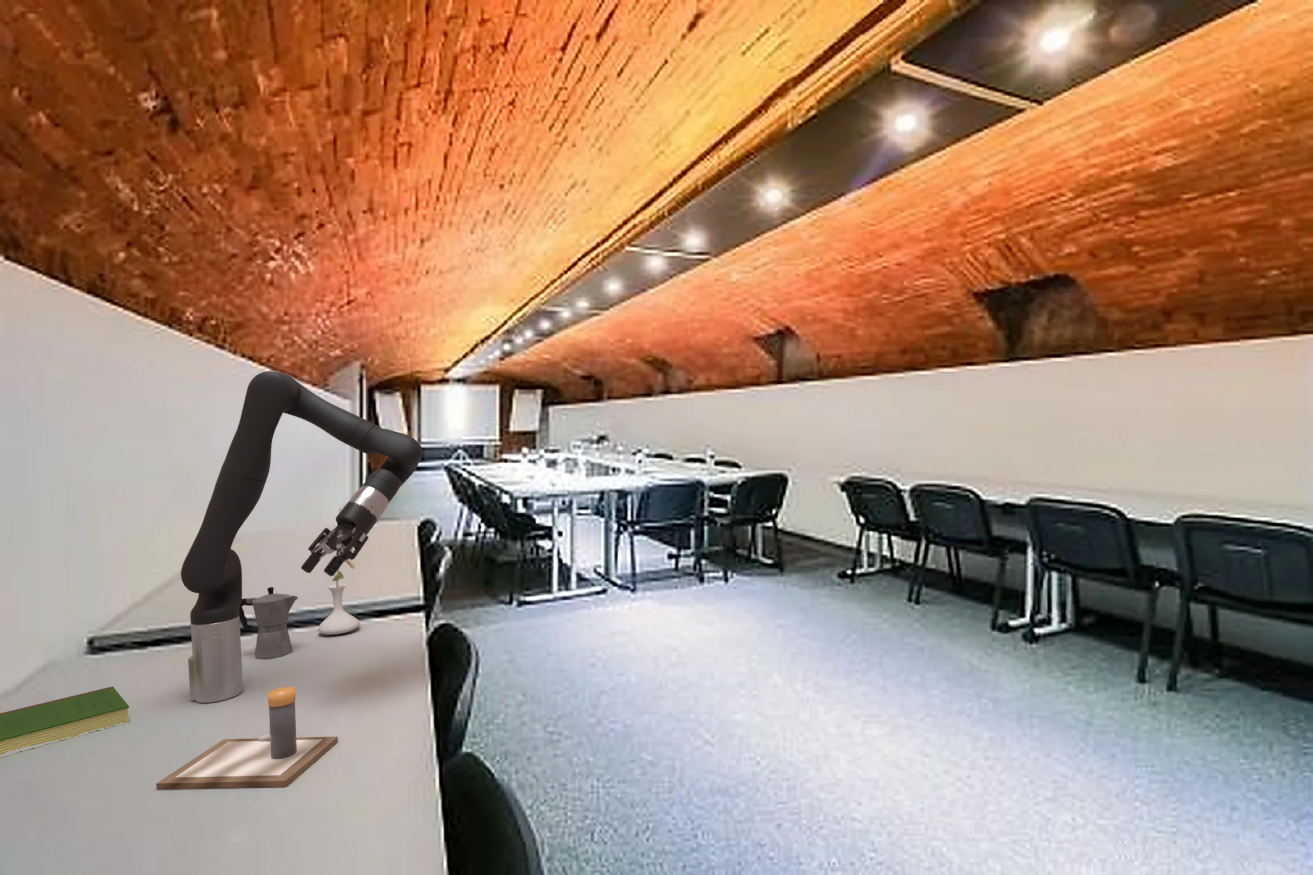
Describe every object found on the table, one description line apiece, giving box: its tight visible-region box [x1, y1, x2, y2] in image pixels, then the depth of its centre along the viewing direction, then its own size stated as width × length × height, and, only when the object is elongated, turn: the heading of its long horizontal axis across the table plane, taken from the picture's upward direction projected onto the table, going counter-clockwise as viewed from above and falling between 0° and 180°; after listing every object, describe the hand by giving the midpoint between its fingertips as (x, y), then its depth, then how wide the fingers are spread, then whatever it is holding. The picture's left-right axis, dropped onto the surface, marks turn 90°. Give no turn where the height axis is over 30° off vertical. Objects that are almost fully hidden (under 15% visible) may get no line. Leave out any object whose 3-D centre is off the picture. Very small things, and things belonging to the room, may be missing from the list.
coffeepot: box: [239, 586, 299, 660], centre depth 183 cm, size 15×9×18 cm, turn 103°
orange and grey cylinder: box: [267, 686, 297, 759], centre depth 120 cm, size 4×4×11 cm
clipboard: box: [155, 733, 339, 791], centre depth 119 cm, size 22×16×2 cm
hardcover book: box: [0, 686, 130, 755], centre depth 138 cm, size 25×19×4 cm
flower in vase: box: [317, 559, 361, 636], centre depth 202 cm, size 13×11×25 cm
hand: (316, 572), depth 143 cm, fingers open, 8 cm apart
